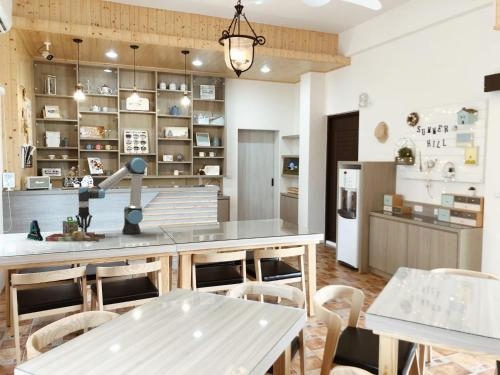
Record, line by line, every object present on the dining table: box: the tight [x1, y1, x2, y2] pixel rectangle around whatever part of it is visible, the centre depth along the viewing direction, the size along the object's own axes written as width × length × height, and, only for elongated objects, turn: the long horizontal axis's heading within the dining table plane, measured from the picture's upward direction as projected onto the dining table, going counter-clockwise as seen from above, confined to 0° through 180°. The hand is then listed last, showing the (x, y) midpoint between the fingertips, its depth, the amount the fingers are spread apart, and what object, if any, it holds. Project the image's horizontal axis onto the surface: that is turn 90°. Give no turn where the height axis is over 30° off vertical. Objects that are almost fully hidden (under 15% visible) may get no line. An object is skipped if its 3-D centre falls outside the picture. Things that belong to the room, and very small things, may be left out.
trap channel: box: [45, 231, 106, 243], centre depth 332 cm, size 40×22×3 cm, turn 92°
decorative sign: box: [26, 219, 44, 242], centre depth 327 cm, size 19×2×15 cm, turn 56°
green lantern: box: [62, 216, 79, 234], centre depth 347 cm, size 9×9×15 cm
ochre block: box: [73, 230, 83, 237], centre depth 329 cm, size 7×7×6 cm
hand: (84, 236), depth 329 cm, fingers closed
